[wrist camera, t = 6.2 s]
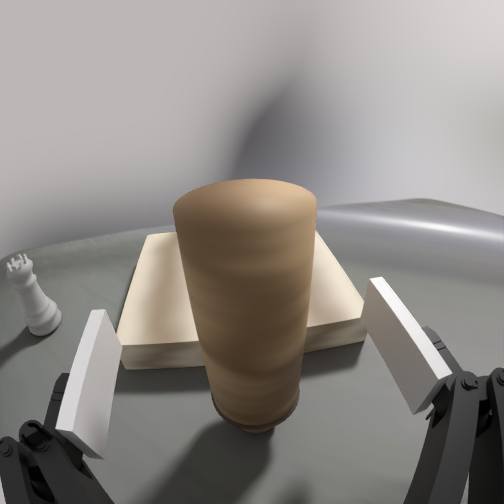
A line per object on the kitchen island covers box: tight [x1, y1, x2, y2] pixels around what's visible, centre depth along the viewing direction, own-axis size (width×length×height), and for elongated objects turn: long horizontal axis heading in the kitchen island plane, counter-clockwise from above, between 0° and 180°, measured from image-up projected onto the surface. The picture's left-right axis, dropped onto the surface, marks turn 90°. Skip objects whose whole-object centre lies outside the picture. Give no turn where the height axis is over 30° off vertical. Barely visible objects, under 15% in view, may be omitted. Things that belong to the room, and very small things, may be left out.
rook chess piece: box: [6, 254, 61, 336], centre depth 23 cm, size 4×4×8 cm
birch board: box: [116, 231, 368, 370], centre depth 29 cm, size 20×18×3 cm
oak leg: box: [173, 179, 317, 433], centre depth 14 cm, size 5×5×15 cm
